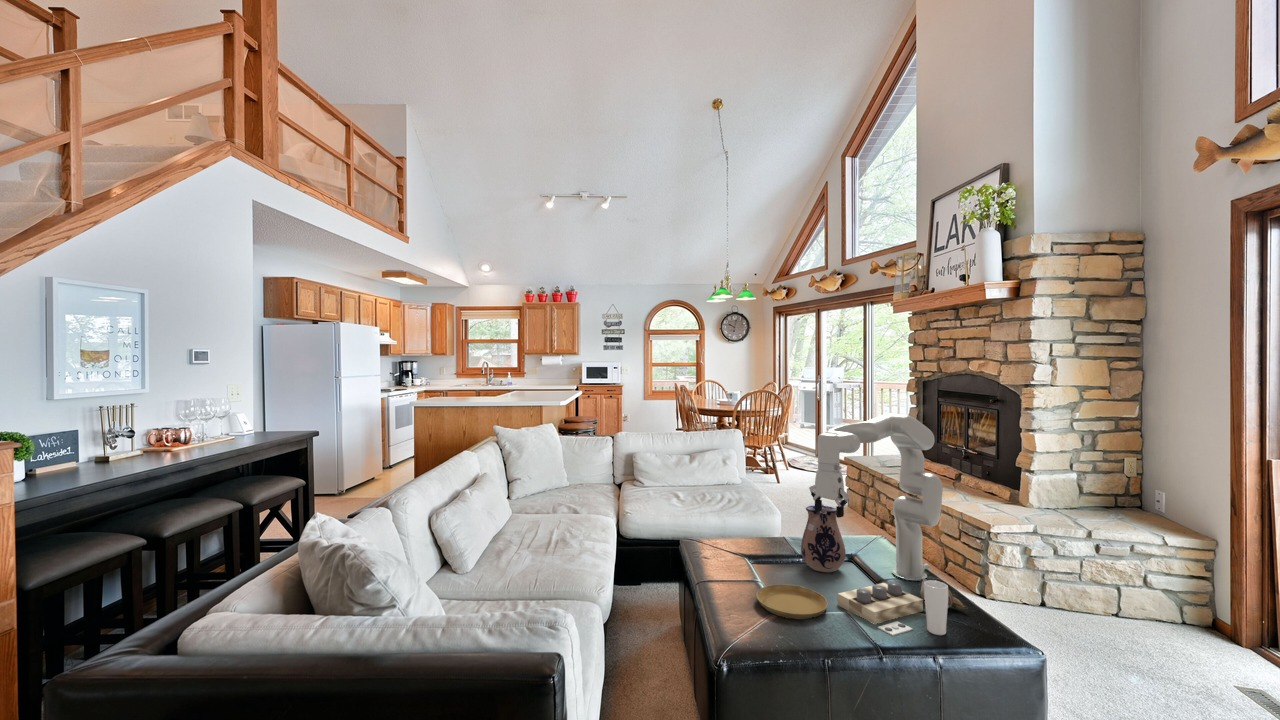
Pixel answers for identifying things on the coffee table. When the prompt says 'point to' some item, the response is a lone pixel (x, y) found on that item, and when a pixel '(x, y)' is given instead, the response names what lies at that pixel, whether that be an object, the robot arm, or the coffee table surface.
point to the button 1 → (863, 596)
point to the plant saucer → (792, 601)
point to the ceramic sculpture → (951, 600)
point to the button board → (881, 605)
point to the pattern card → (895, 628)
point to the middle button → (879, 592)
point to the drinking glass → (936, 606)
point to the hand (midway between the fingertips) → (828, 513)
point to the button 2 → (895, 589)
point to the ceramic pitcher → (822, 540)
